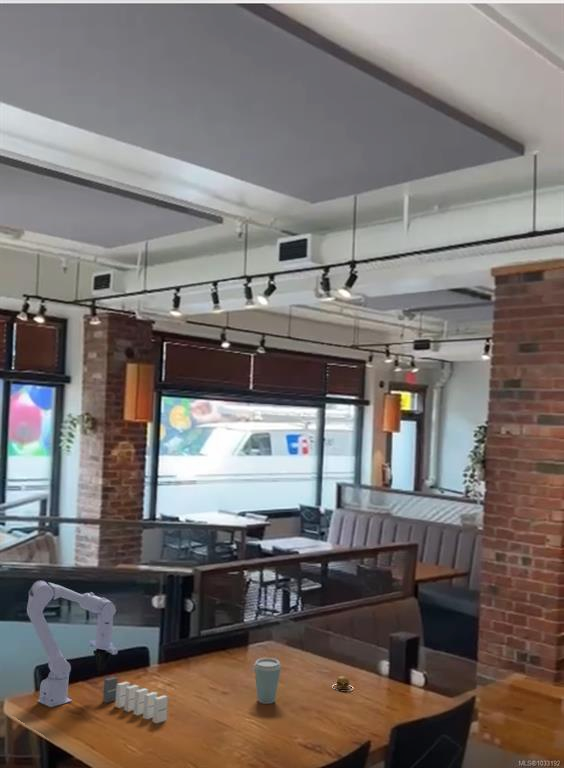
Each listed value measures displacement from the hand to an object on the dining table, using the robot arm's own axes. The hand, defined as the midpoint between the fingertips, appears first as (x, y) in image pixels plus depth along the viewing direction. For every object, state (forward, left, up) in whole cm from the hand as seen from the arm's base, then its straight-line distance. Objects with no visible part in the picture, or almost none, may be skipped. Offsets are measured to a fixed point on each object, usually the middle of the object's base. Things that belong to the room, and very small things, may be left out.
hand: (101, 669), depth 286 cm
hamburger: (+79, -57, -11) cm, 98 cm away
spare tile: (0, -6, -10) cm, 11 cm away
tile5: (0, -28, -10) cm, 30 cm away
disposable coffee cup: (+44, -45, -10) cm, 63 cm away
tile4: (0, -23, -10) cm, 25 cm away
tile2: (0, -13, -10) cm, 16 cm away
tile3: (0, -18, -10) cm, 20 cm away
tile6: (0, -33, -10) cm, 34 cm away
